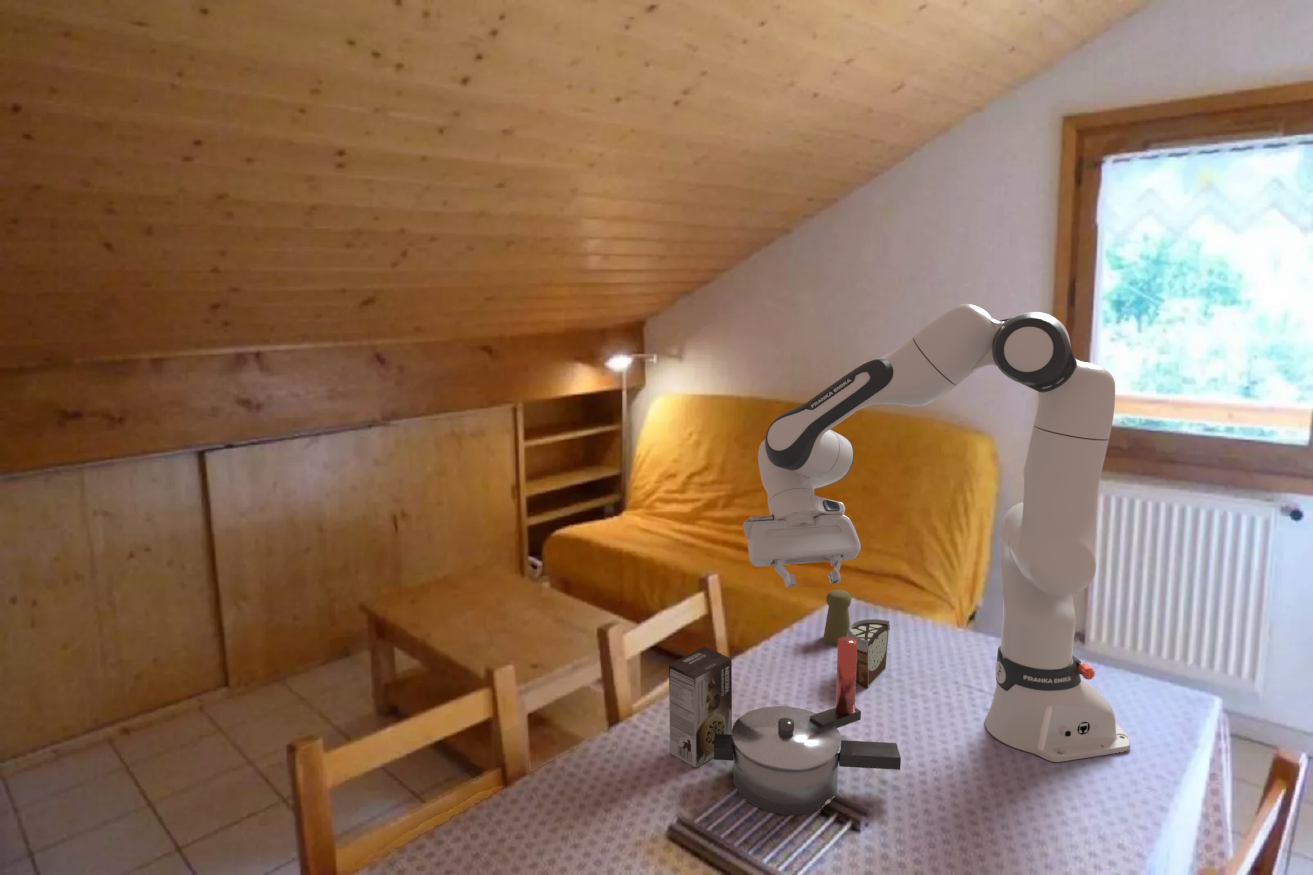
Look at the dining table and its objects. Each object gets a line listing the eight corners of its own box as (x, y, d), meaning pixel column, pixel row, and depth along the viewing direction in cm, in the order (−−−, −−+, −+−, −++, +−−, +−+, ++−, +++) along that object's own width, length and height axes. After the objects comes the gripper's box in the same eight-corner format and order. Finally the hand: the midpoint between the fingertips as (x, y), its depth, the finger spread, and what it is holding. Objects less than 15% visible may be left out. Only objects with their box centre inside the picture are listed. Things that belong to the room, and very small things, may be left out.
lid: (776, 784, 116) (777, 695, 113) (711, 729, 130) (711, 650, 128) (891, 739, 127) (895, 658, 124) (820, 693, 141) (822, 619, 138)
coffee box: (704, 732, 143) (704, 645, 140) (733, 746, 139) (733, 657, 135) (667, 753, 137) (667, 663, 134) (696, 769, 132) (696, 676, 129)
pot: (712, 810, 122) (712, 767, 121) (716, 749, 138) (716, 711, 136) (906, 822, 119) (908, 778, 117) (888, 758, 134) (890, 719, 133)
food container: (859, 658, 170) (860, 613, 168) (888, 666, 166) (890, 620, 164) (834, 682, 160) (836, 634, 158) (865, 691, 156) (866, 642, 154)
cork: (852, 646, 175) (853, 598, 173) (823, 644, 176) (824, 596, 174) (851, 634, 181) (852, 587, 179) (823, 632, 182) (824, 585, 180)
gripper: (744, 508, 146) (761, 580, 139) (851, 502, 150) (873, 572, 143) (736, 525, 151) (752, 595, 144) (840, 519, 156) (860, 587, 148)
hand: (813, 584), depth 143 cm, fingers open, 7 cm apart
